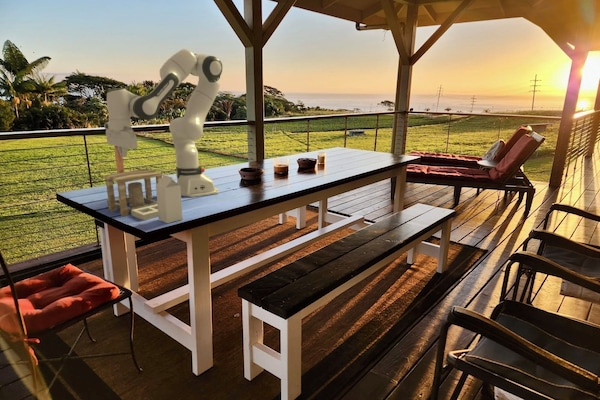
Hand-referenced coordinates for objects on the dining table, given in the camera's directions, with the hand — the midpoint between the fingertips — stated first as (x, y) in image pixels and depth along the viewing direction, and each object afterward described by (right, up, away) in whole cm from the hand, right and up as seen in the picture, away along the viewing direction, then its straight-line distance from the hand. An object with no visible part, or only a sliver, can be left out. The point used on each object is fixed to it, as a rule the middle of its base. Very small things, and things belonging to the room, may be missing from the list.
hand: (123, 156), depth 176 cm
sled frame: (+3, -23, +4) cm, 23 cm away
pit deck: (+16, -26, -6) cm, 31 cm away
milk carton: (+26, -28, -12) cm, 40 cm away
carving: (+6, -24, +2) cm, 25 cm away
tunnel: (+6, -24, +2) cm, 24 cm away
